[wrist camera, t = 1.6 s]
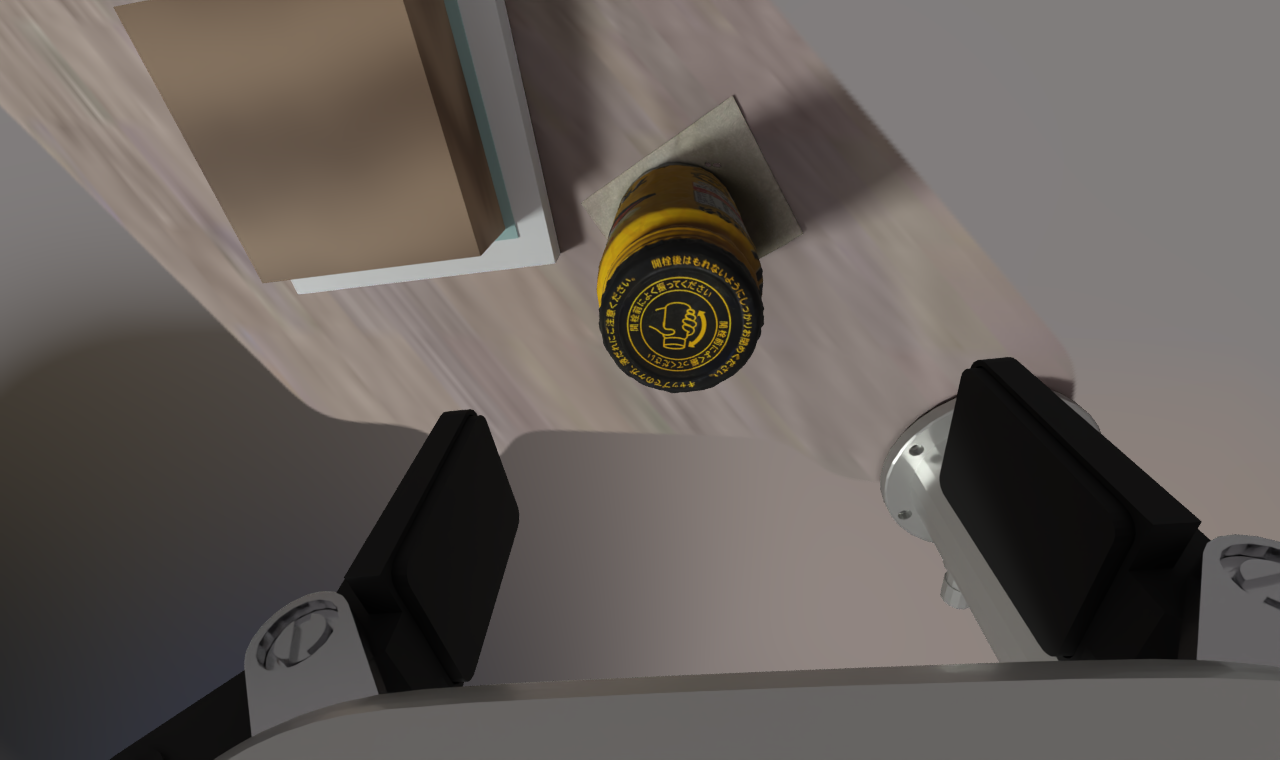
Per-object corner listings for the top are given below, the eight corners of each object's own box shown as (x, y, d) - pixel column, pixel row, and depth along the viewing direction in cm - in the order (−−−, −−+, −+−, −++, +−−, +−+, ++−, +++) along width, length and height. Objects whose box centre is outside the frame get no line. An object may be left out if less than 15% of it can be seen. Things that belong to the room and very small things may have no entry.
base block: (505, 229, 25) (480, 256, 22) (314, 253, 26) (262, 283, 23) (435, -30, 20) (388, -47, 17) (202, 14, 21) (113, 6, 18)
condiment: (581, 202, 26) (527, 295, 16) (732, 95, 23) (782, 126, 13) (660, 315, 29) (657, 454, 19) (801, 231, 26) (886, 342, 16)
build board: (560, 253, 28) (554, 264, 26) (314, 283, 29) (296, 295, 28) (482, -98, 20) (469, -109, 19) (160, -33, 22) (126, -39, 20)
